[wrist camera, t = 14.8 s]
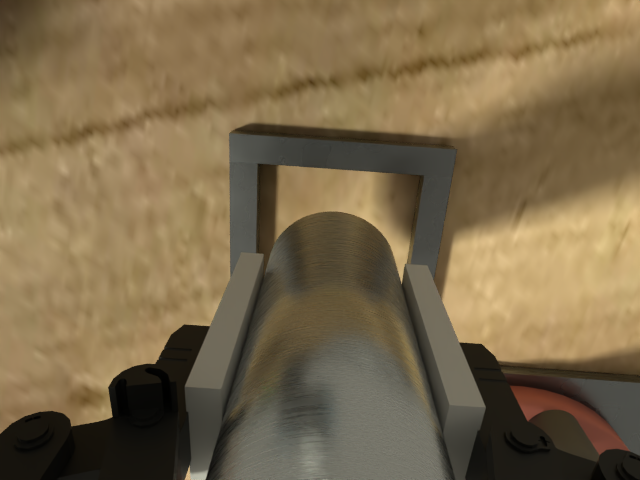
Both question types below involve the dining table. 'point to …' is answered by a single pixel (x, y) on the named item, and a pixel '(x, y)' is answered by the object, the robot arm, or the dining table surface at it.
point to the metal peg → (331, 367)
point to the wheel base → (591, 395)
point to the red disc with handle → (568, 423)
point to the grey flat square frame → (344, 155)
